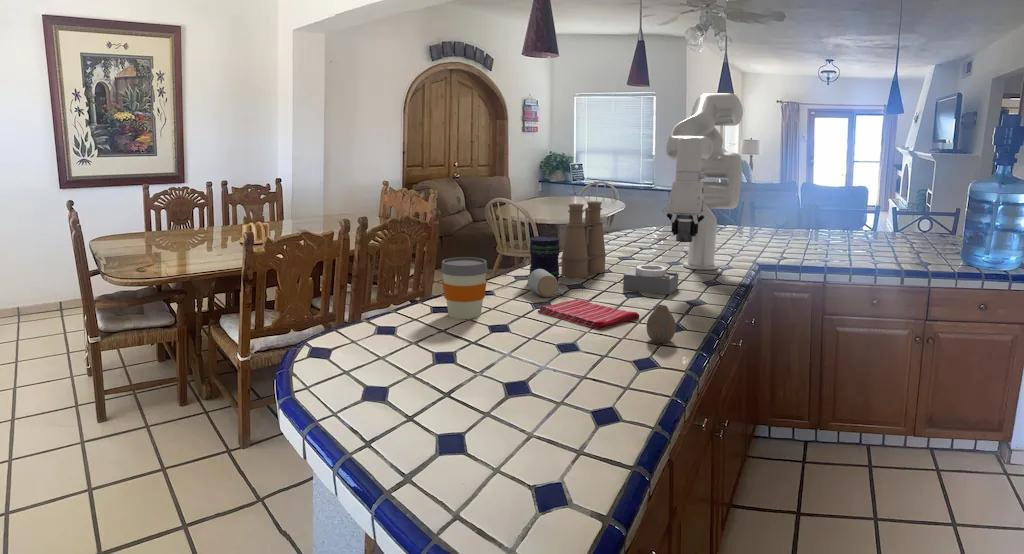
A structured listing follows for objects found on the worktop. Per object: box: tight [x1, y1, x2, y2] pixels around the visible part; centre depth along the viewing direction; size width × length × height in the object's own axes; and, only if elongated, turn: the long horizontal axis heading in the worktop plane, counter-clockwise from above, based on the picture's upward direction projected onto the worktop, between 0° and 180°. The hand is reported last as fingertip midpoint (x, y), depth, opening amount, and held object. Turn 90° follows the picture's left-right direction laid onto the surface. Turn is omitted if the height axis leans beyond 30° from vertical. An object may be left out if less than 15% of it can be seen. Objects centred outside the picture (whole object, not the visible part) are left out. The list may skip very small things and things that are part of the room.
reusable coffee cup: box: [440, 256, 488, 320], centre depth 185 cm, size 13×12×15 cm
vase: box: [646, 304, 677, 344], centre depth 164 cm, size 7×7×9 cm
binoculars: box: [560, 200, 608, 279], centre depth 238 cm, size 21×10×25 cm, turn 138°
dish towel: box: [537, 298, 640, 330], centre depth 186 cm, size 17×24×3 cm
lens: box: [675, 214, 694, 243], centre depth 213 cm, size 5×5×8 cm
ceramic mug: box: [527, 269, 565, 298], centre depth 209 cm, size 11×8×8 cm
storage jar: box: [529, 235, 561, 282], centre depth 225 cm, size 10×10×15 cm
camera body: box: [622, 264, 679, 296], centre depth 217 cm, size 10×15×7 cm, turn 62°
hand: (684, 234), depth 214 cm, fingers closed on lens, 5 cm apart
